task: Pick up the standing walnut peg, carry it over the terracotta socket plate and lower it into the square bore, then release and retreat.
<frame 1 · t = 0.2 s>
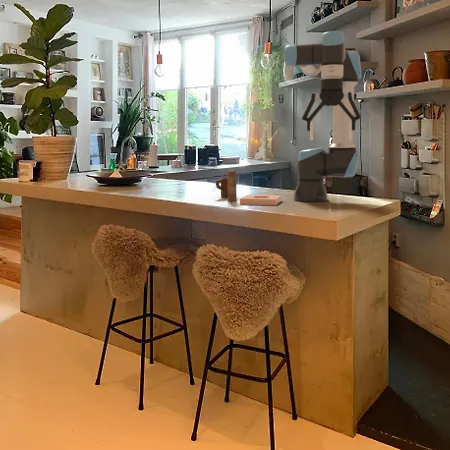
hand: (330, 140, 188), 28 cm above the worktop, fingers open, 13 cm apart
mug: (225, 197, 255), on the worktop
peg: (232, 201, 241), on the worktop
socket plate: (261, 202, 235), on the worktop
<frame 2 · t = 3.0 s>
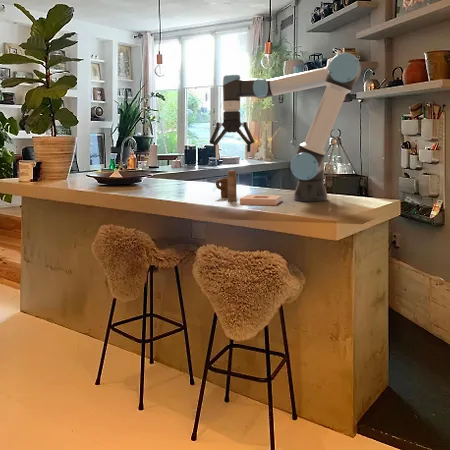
hand: (232, 159, 237), 19 cm above the worktop, fingers open, 13 cm apart
nothing on the worktop moved.
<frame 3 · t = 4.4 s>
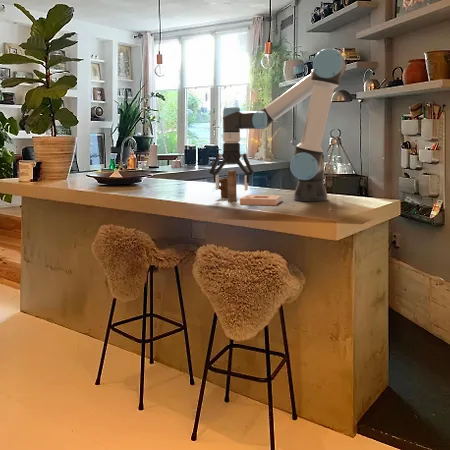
hand: (231, 189, 240), 5 cm above the worktop, fingers open, 13 cm apart
nothing on the worktop moved.
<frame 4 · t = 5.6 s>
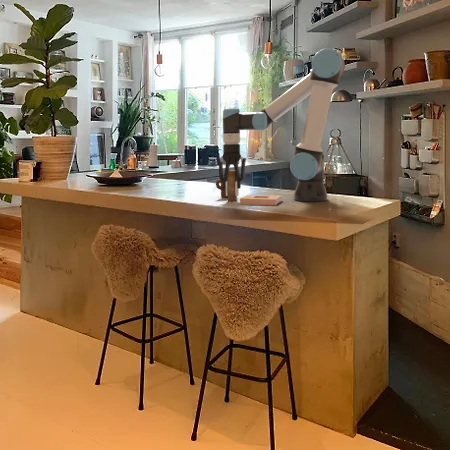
hand: (232, 195, 241), 3 cm above the worktop, fingers closed on peg, 4 cm apart
peg: (232, 201, 241), on the worktop, touching gripper
everything else where it was.
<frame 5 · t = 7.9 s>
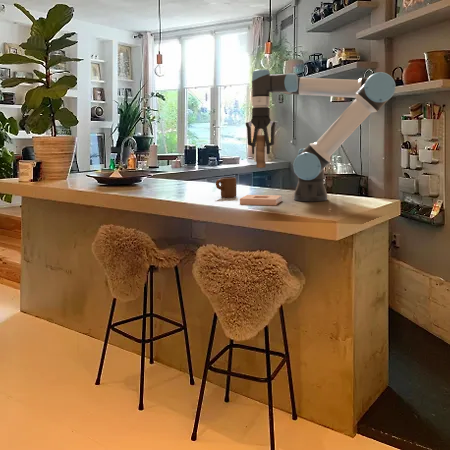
hand: (261, 161, 232), 18 cm above the worktop, fingers closed on peg, 4 cm apart
peg: (261, 167, 232), point 16 cm above the worktop, touching gripper
everything else where it was.
when the fingers open (4 cm above the worktop, at t = 10.4 s): peg stays where it is, resting in socket plate.
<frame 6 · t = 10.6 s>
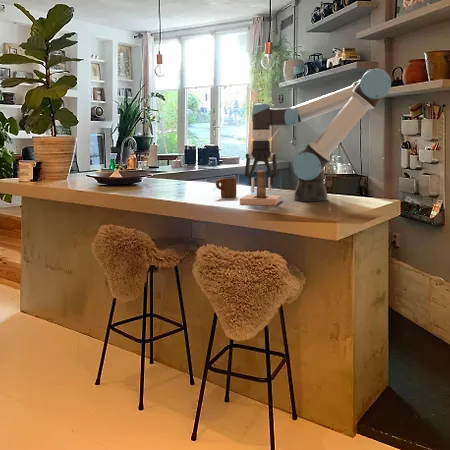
hand: (261, 192, 234), 5 cm above the worktop, fingers open, 7 cm apart
peg: (261, 202, 235), resting in socket plate
everything else where it was.
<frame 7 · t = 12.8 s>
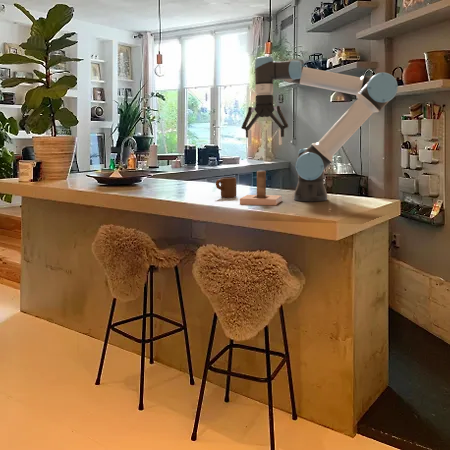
hand: (264, 145, 229), 25 cm above the worktop, fingers open, 13 cm apart
nothing on the worktop moved.
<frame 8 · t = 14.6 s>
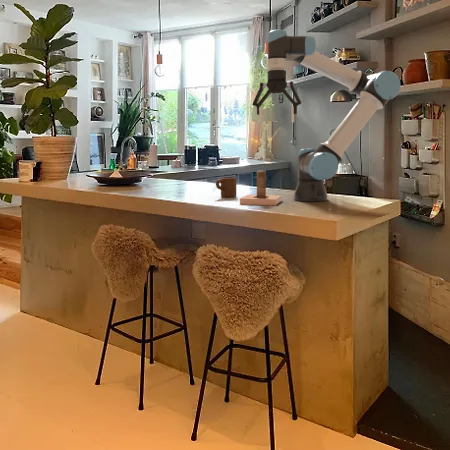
hand: (276, 122, 221), 35 cm above the worktop, fingers open, 13 cm apart
nothing on the worktop moved.
at the end: peg 0.0 cm off-centre on the socket plate, point 0.0 cm above the socket plate's base; peg tilted 0°; the gripper is holding nothing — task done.
